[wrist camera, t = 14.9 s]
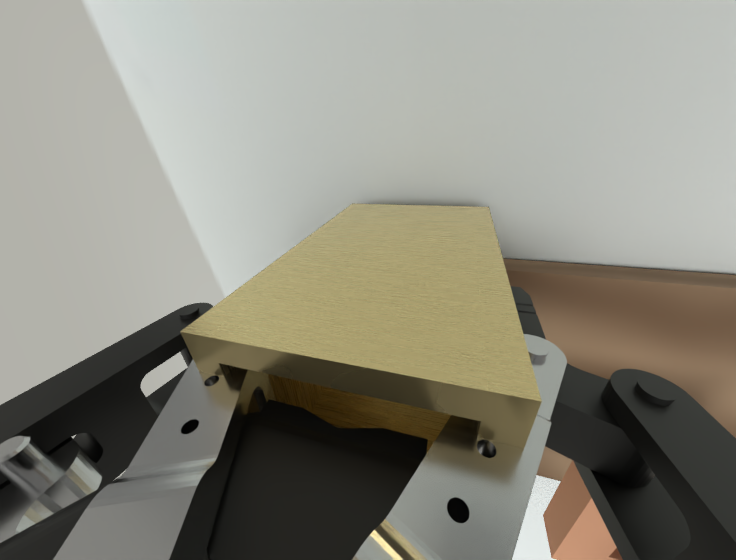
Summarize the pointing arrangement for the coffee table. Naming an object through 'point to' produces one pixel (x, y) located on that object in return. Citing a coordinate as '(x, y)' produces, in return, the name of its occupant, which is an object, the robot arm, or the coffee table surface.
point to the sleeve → (384, 325)
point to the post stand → (638, 328)
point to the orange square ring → (577, 523)
